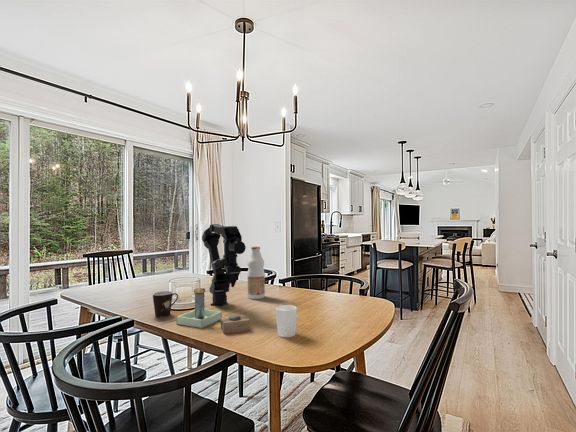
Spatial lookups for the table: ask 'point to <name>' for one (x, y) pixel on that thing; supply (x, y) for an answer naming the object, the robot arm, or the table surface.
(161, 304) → the coffee mug
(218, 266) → the robot arm
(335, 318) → the table surface
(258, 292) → the fruit juice
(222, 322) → the block
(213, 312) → the green tray
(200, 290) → the grey metal cylinder
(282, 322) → the white cup
